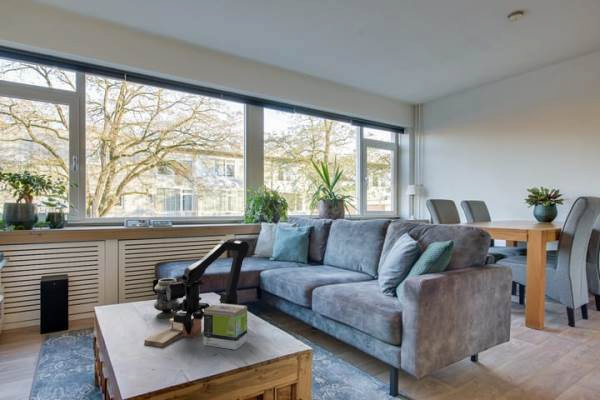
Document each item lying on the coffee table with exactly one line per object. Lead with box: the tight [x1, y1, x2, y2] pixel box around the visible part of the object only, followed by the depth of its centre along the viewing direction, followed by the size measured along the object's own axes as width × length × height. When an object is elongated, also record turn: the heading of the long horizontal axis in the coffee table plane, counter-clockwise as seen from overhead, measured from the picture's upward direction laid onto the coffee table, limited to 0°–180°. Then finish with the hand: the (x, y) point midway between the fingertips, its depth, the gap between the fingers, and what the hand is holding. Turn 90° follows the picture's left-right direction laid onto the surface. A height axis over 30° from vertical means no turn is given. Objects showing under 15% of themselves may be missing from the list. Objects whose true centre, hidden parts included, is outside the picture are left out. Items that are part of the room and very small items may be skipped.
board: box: [143, 323, 184, 348], centre depth 144 cm, size 9×21×2 cm, turn 163°
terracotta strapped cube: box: [168, 317, 203, 338], centre depth 146 cm, size 14×5×6 cm, turn 74°
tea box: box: [203, 302, 248, 350], centre depth 137 cm, size 15×10×15 cm
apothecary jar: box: [153, 277, 180, 319], centre depth 170 cm, size 12×12×18 cm
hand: (192, 332), depth 145 cm, fingers closed on terracotta strapped cube, 5 cm apart
